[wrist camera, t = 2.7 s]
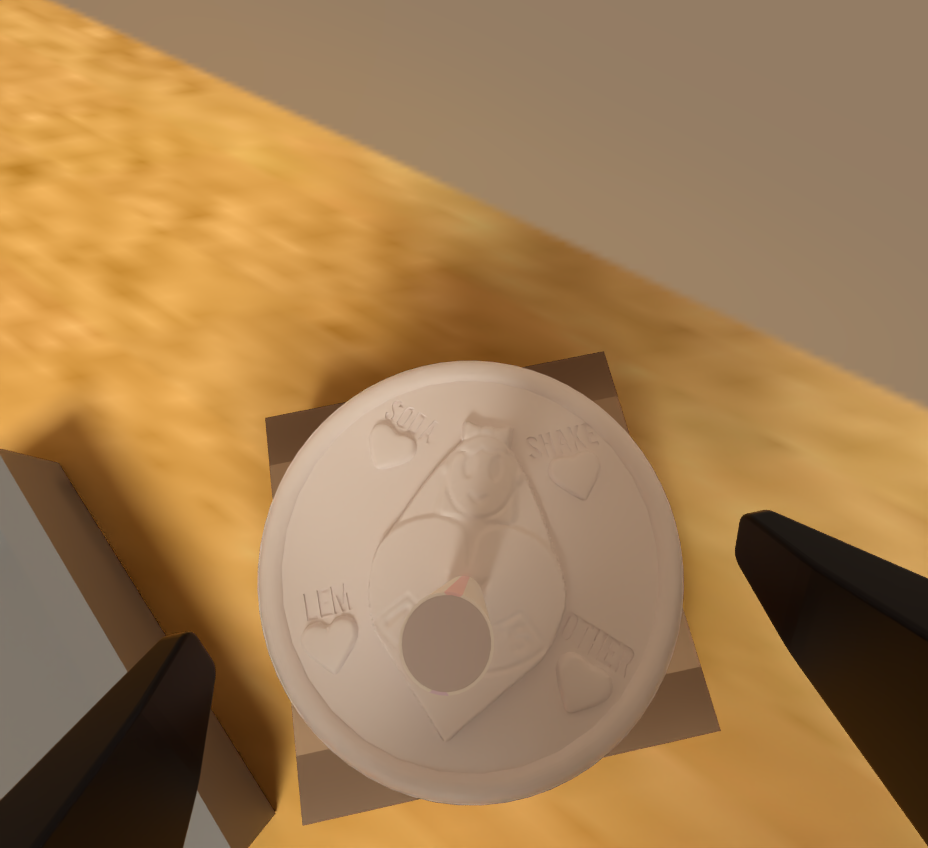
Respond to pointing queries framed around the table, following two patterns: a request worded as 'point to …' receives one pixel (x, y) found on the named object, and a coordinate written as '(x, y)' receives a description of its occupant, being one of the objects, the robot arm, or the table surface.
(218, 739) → the tray
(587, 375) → the clip collar
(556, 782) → the smoothie
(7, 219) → the table surface
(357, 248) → the table surface
